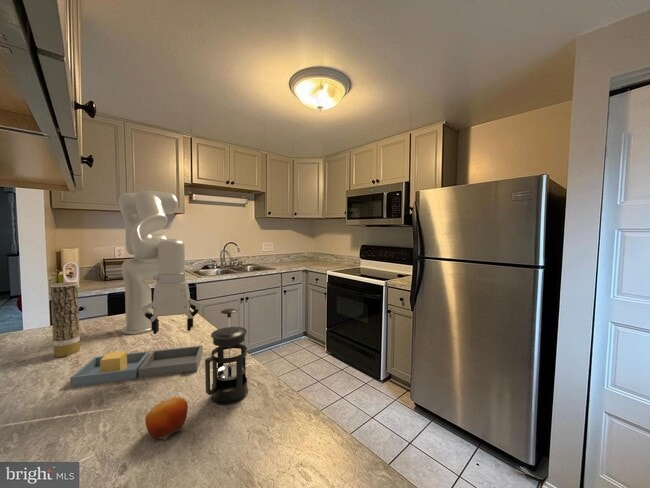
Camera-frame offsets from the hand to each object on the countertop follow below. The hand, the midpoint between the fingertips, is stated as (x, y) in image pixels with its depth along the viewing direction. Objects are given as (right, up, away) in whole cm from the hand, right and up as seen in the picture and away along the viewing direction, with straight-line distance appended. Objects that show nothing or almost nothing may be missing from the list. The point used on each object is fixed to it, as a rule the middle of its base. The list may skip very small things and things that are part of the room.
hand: (173, 331), depth 88 cm
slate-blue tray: (-16, -11, -4) cm, 20 cm away
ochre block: (-16, -11, -4) cm, 20 cm away
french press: (+23, -12, -15) cm, 31 cm away
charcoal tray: (0, -11, +1) cm, 11 cm away
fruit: (+15, -13, -28) cm, 35 cm away
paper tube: (-42, -11, +9) cm, 45 cm away
